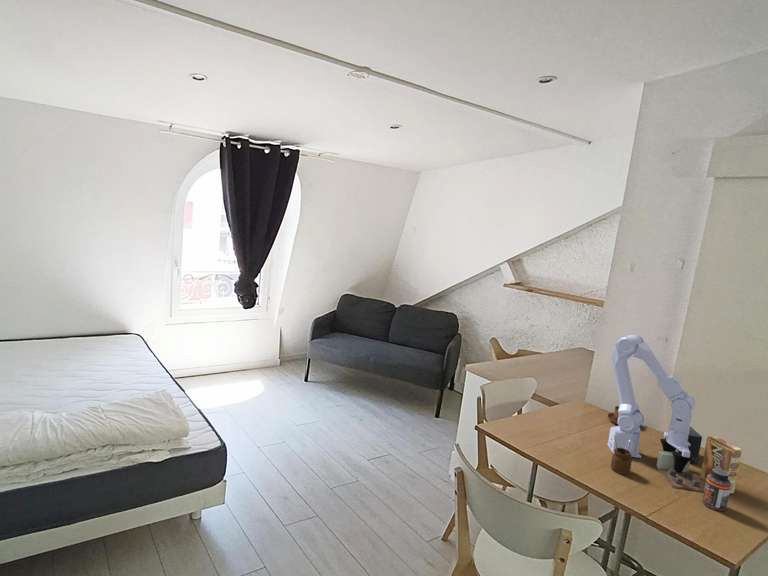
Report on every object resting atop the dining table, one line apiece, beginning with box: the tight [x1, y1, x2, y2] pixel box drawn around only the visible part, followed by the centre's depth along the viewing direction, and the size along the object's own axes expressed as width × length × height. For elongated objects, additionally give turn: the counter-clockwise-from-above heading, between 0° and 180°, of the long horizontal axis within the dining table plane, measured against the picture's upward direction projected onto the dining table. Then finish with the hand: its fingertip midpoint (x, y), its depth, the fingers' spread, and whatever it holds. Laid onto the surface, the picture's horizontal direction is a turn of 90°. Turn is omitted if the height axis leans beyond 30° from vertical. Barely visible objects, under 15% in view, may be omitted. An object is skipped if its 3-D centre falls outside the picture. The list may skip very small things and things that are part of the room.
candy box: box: [699, 436, 743, 495], centre depth 142 cm, size 9×4×15 cm, turn 13°
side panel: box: [658, 468, 706, 493], centre depth 145 cm, size 12×10×3 cm
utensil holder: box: [610, 435, 634, 475], centre depth 148 cm, size 6×6×12 cm
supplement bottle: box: [702, 468, 731, 512], centre depth 132 cm, size 6×6×11 cm
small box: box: [675, 425, 703, 464], centre depth 162 cm, size 11×6×10 cm, turn 168°
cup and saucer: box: [607, 405, 620, 425], centre depth 188 cm, size 12×12×6 cm
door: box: [656, 450, 691, 472], centre depth 151 cm, size 9×2×6 cm, turn 79°
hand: (672, 466), depth 152 cm, fingers open, 7 cm apart
